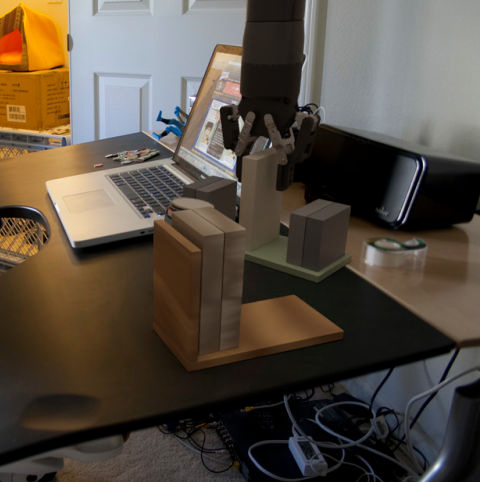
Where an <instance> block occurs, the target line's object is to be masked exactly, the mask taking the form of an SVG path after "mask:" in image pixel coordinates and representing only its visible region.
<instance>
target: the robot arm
mask: <svg viewBox="0 0 480 482" xmlns="http://www.w3.org/2000/svg"><path fill="white" fill-rule="evenodd" d="M245 4H246V5H245V23H244V28H243V29H244V30H243V34H242V43H241V58H240V76H239V94H240V101H238V104H234V103H232V104H227V105H224V106H221V107H219V117H220V125H221V134H222V143H223V148H224V149H225V150H226V151H231V152H233V153H234V155H235V158H236V160H235V177H236V178H237V183H240V184H241V179H242V162H243V157H245V156H248V155H250V154H251V153H252V150H253V148H254V146H255V144H256V142H257V141H258V140H259V139H260V138H261V137H263V138H265V139H266V140H270V143H271V145H272V146H271V147H273V148H275V149H276V152H277V156H278V159H279V162H280V164H278V166H277V179H276V191H281V192H282V191H283V192H285V191H286V190H288V189H289V188H290V187H291V186H293V182H294V175H295V165H296V163H299V162H302V161H305V160H307V159H309V158H310V157H311V154H312V150H313V147H314V144H315V140H316V137H317V134H318V131H319V127H320V124H321V121H322V118H321V116H320V114H318V113H315V114H309V113H305V112H303V111H301V107H300V106H299V105H300V104H299V97H300V94H301V86H302V85H301V84H302V75H303V63H304V52H305V40H306V39H305V38H306V36H305V35H306V34H305V14H306V4H307V0H246V3H245ZM240 118H241V120H242V122H243V125H242V127H241V131H240V122H239V120H240ZM295 123H297V124H296V125H297V126H296V129H297V130H298V134H297V137H296V140H295V136H294V135H295V134H294V132H293V128H292V127H293V125H294V124H295Z"/></svg>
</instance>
